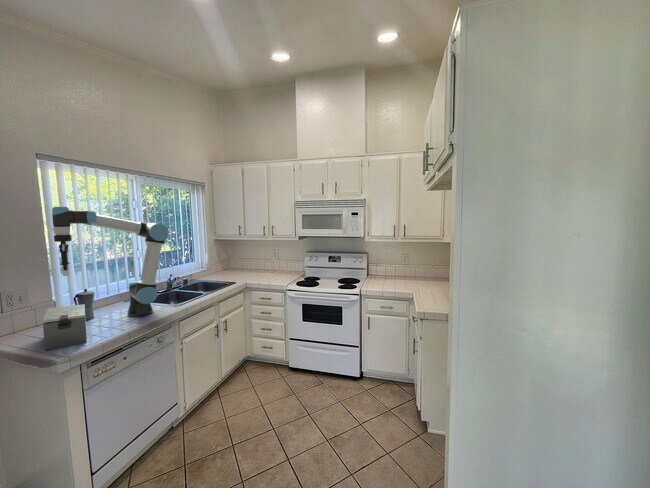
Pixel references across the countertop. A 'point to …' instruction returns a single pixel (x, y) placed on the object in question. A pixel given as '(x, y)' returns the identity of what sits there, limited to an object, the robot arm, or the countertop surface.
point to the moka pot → (86, 302)
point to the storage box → (64, 333)
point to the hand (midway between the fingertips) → (66, 275)
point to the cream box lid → (64, 313)
